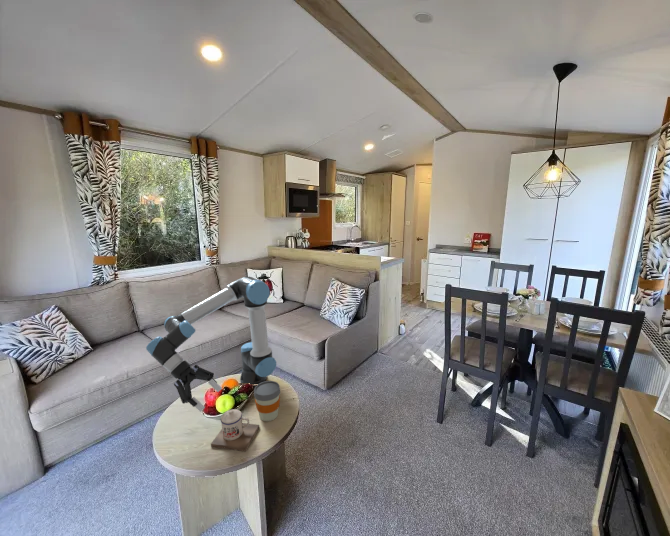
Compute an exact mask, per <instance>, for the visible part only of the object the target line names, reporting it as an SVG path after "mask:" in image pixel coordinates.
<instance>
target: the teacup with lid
mask: <svg viewBox="0 0 670 536" xmlns="http://www.w3.org/2000/svg"><path fill="white" fill-rule="evenodd" d="M243 421H246V423H247V424H246V425H244V426H243V425H242V423H243ZM220 423H221V429H222V433H223V438H224V439H225V440H235V439H237V438H239V437H240V436H241V435H242V433H243V428H246V427H247V426H248V425H249V424H250V419H249V418H248V417H246V416H244V417H243V413H242V411H240V410H239V409H233V408H232V409H229V410H226V411H224V413H223V414H222V415H221V417H220Z"/></svg>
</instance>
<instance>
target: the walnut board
mask: <svg viewBox="0 0 670 536" xmlns="http://www.w3.org/2000/svg"><path fill="white" fill-rule="evenodd" d="M247 423H248V422H246V423H245V422H242V425H243V426H244V425H246V424H247ZM259 429H260V424H256V423H255V424H254V423H249V425H248V426H247V427H246V428H243V433H242V435H241V436H240V437H239V438H237V439H235V440H225V439H224V438H223V433H222V428H221V429H220V431H219V432H218V434H217V435H216V436H215V438H214V439H213V440H212V442H211V443H210V448H218V449H226V450H233V451H239V452H247V450H248V448H249V446H250V444H251V443H252V442H253V439H254V438H255V436H256V434H257V433H258V431H259Z"/></svg>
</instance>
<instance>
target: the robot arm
mask: <svg viewBox="0 0 670 536" xmlns="http://www.w3.org/2000/svg"><path fill="white" fill-rule="evenodd" d="M269 297H270V288H269V286H268V284H267V283H266V282H264V281H263V280H261V279H257V278H254V277H252V276H242V277H239V278H238V279H236V280H234V281H232V282H231V283H228V284H226V287H225V288H224V289H221V290H219V291H218V292H216V293H214V294H213V295H211V296H209V297H207V298H206V299H204V300H202V301H201V302H199V303H197V304H195V305H194V306H192V307H190V308H188V309H186V310H185V311H183V312H181V313H179V314H177V315H172V316H168V317H167V318H166V319H165V320H164V323H163V326H164V329H165V332H167V334H166V335H165V336H164V337H162V336H156V337H154V339H152V340H151V341H150V342H149V343H148V344H147V345H146V347H145V350H146V351H147V352H148V353H149V355H151V357H153V359H154V360H156V361H157V362H158V363H159V364H160V365H161V366H162V367H163V368H164V369H166V371H167V372H168V373H170V374H171V376H173V378H175V379H177V380H176V381H175V382H174V383H173V385H174V387H175V388H176V390H177V394H179V397H180V400H181V401H180V402H181V403H182V404H183V405H185V404H190V405H191V406H192V407H193V408H195V409H196V410H198V412H200V413H201V412H202V411H203V410H204V409H205V408H206V407H205V406H204V404H202V403H201V402H200V400H198V399H197V398H196V397H195V396H192V395H193V394H192V389H191V383H192V382H193V381H194V380H199V381H206V382H207V383H208V385H210V387H212V388H213V389H214V390H215V391H216V392H217V393H219V392H220V391H221V390H222V389H223V387H222V386H221V385H220V384H219V383H218V381H217V380H216V379H214V377H215V374H214V372H212V371H210V370H207V369H205V368H202V367H200V366H199V365H198V364H194V366H193V367H191V364H190V363H189V362H188V361H187V360H184V357H183V356H181V355H180V353H178V352H177V349H178V348H179V347H180V346H181V345H183V344H184V343H185V342H186V341H187V340H188V339H190V338H191V337H192V336H193V335H194V334H195V333H196V328H195V327H194V326H193V324H195V323H196V322H198V321H200V320H202V319H203V318H205V317H207V316H209V315H210V314H212V313H213V312H216V311H217V310H219V309H220V308H222V307H224V306H225V305H227V304H229V303H231V302H233V301H238V300H240V299H242V298H243V302H244V307H245V308H246V309H247V311H248V313H247V314H248V319H249V321H248V322H249V327H250V329H249V330H250V338H251V341H250V342H245V343H244V344H243V345H242V346H241V347H240V355H241V356H240V357H241V367H242V369H241V374H240V377H239V379H240V380H239V381H240V384H241V383H250V384H259V383H262V382H265V381H267V377H268V376H270V375H272V374H273V372H274V371H275V370H276V368H277V361H276V358H275V357H273V349H272V347H270V346H269V337H268V328H267V327H268V326H267V317H266V306H267V305H268V299H269Z"/></svg>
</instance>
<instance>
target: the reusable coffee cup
mask: <svg viewBox="0 0 670 536" xmlns="http://www.w3.org/2000/svg"><path fill="white" fill-rule="evenodd" d="M280 394H281V388H280V384H279V383H278V382H277V381H273V380H265V382H262V383H259V384H258V385H257V386H254V390H253V397H254V401H255V402H254V403H255V406H256V410H257V411H258V416H259V419H260V420H261V421H263V422H271V421H273V420H275V419H276V418H277V417H278V416H279V407H280V404H281V403H280V402H281V395H280Z"/></svg>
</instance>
